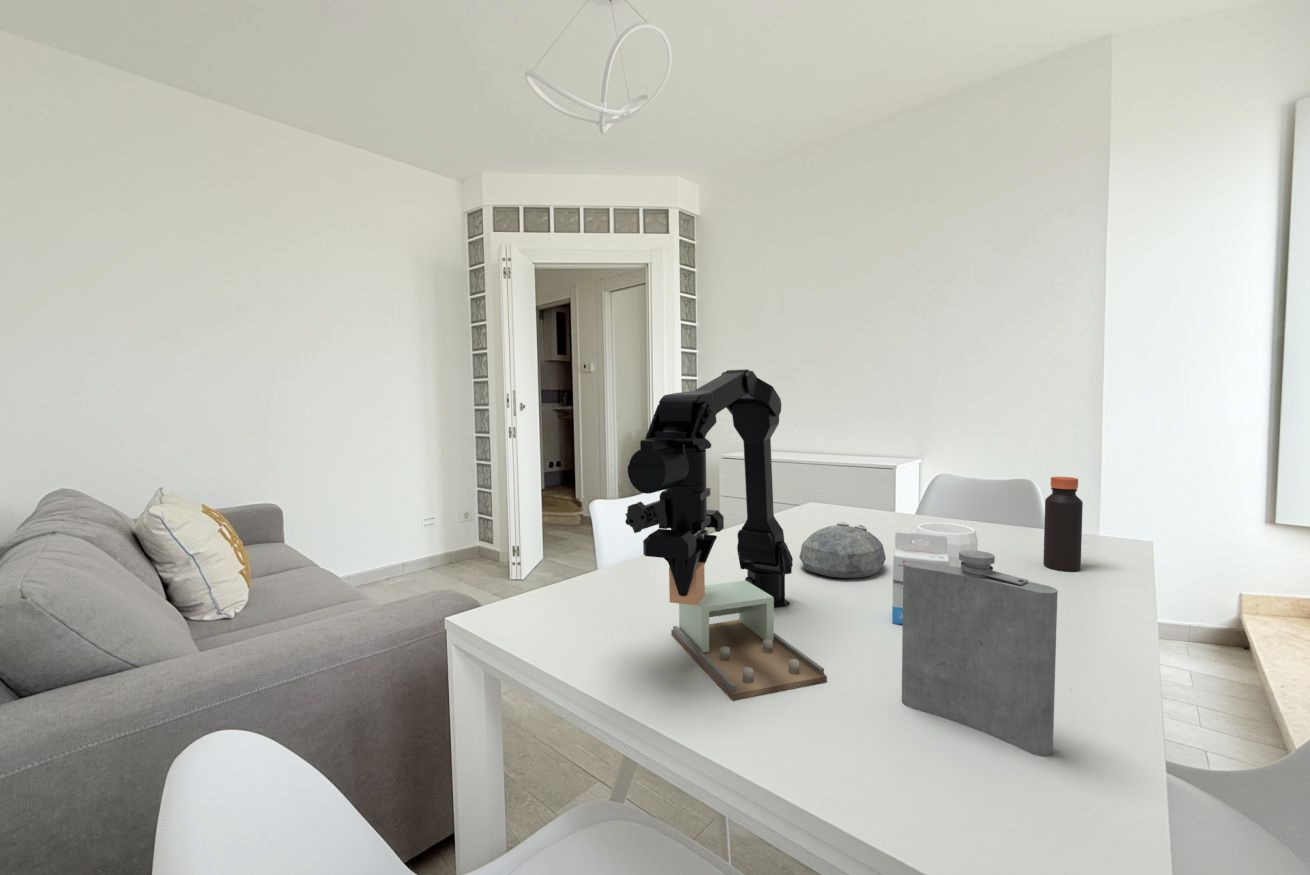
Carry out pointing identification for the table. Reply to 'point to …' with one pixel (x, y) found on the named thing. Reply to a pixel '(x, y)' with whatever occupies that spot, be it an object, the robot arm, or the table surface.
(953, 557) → the cup
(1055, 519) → the bottle
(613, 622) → the table surface
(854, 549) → the decorative stone
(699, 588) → the block
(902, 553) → the ink box
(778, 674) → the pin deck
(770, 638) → the housing
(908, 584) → the hip flask
